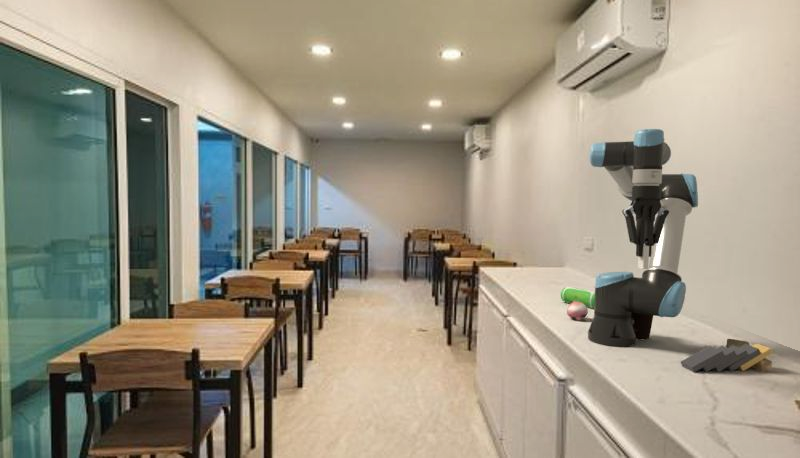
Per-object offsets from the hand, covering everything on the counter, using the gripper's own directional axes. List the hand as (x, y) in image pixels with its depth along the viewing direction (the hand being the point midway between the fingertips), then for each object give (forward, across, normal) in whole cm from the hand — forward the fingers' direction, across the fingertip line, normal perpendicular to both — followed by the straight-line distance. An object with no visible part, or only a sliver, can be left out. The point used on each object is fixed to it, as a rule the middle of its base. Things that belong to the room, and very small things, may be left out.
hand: (643, 268), depth 149 cm
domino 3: (+28, +20, -4) cm, 34 cm away
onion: (+29, +7, +56) cm, 63 cm away
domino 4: (+28, +24, -4) cm, 37 cm away
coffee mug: (+29, +18, +31) cm, 46 cm away
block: (+28, +34, -4) cm, 45 cm away
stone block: (+29, +35, +5) cm, 46 cm away
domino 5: (+28, +27, -4) cm, 39 cm away
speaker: (+29, +20, +82) cm, 89 cm away
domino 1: (+28, +12, -4) cm, 31 cm away
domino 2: (+28, +16, -4) cm, 32 cm away
